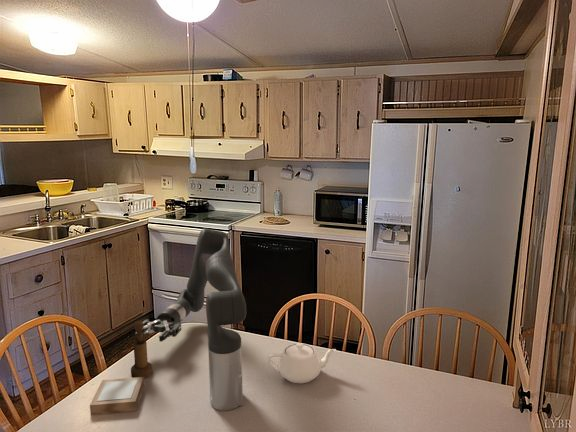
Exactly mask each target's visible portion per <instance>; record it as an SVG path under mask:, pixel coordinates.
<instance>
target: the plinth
mask: <svg viewBox="0 0 576 432" xmlns="http://www.w3.org/2000/svg"><path fill="white" fill-rule="evenodd" d="M144 388H145V378H144V377H136V378H133V377H125V378H115V379H113V378H112V379H103V380H101V382H100V384H99V387H98V388H97V390H96V392H95V393H94V396H93V399H92V400H91V403H90V404H89V410H90V411H89V412H90V416H93V415H94V416H95V415H106V414H117V413H119V414H120V413H128V412H129V413H130V412H137V409H138V407H139V403H140V400H141V398H142V394H143V391H144Z"/></svg>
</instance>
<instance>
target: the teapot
mask: <svg viewBox="0 0 576 432" xmlns="http://www.w3.org/2000/svg"><path fill="white" fill-rule="evenodd" d="M336 351H337V349H336V348H332V349H331V348H330V349H328V350H327V351H326V353H325V355H324V356H323V357H321V358H320V357H319V355H318V353H317V350H316V349H315V348H314V346H311V345H310V344H307V343H302V342H298V343H292V344H291V343H290V344H288V345H287V346H285V348H284V349H283V351H282V352H280V353H278V352H277V353H270V354H269V355H268V356H267V363H268V364H269V366H270V367H271V368H273V369H274V370H277V371H279V374H280V375H281V376H282V377H283V379H285V380H286V381H288V382H290V383H293V384H305V383H306V384H307V383H309V382H312V381H313V380H315V378H317V377H318V376H319V375H320V373H321V370H322V369H324V368H325V367H326V366H327V364H328V363H329V359H330V356H331V355H332V353H334V352H336ZM273 358H279V361H278V364H277V365H278V366H277V365H275V364H274V363H273V362H272V359H273Z"/></svg>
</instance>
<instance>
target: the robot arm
mask: <svg viewBox="0 0 576 432" xmlns="http://www.w3.org/2000/svg"><path fill="white" fill-rule="evenodd" d="M230 245H231V244H230V238H229V234H227V232H224V231H220V230H216V229H211V228H202V229H201V230H200V232H199V234H198V237H197V240H196V244H195V250H194V255H193V261H192V265H191V266H192V267H191V271H190V274H189V278H188V280H187V283H186V288H185V289H183V290H181V291H180V293H179V295H178V296H177V300H176V301H174V302H173V303H172V304H171V305H169V306H168V307H166V308H165V309H164V310H163V311H162V312H160V313H159V314H158V315H157V317H156V319H155V320H153V321H150V320H149V319H148V318H147V319H144V320H143V321H142V322H143V324H144V327H143V329H142V334H143V336H144V335H146V334H153V333H161V334H159V335H158V336H159V337H158V338H159V340H158V341H159V342H163V341H165V340H166V339H168V338H170V337H173V338H176V336H178V334H180V332H181V331H182V322H183V321H184V319H186V318H187V317H188V316H189V314H190V313H191V312H193V313H197V312H199V311H200V310H202V309H203V306H204V304H205V314H206V315H205V316H206V324H207V325H206V326H207V343H208V344H207V345H208V371H209V372H208V375H209V376H208V377H209V379H208V380H209V400H210V405H211V407H212V408H213V409H214V410H217V411H218V410H219V411H231V410H234V409H236V408H237V407H241V406H244V402H243V401H244V399H243V397H244V396H243V393H244V392H243V368H242V366H243V365H242V337H241V335H240V333H239V332H237V331H235V330H232V329H230V328H225V327H223V326H228V325H230V326H231V325H236V324H240V323H242V322H243V321H245V319H246V316H247V303H246V299H245V296H244V293H243V290H242V289H241V286H240V284H239V281H238V277H237V274H236V268H235V263H234V261H233V258H232V254H231V248H230ZM204 254H205V255H210V257H209V258H208V259H207V261H206V263H205V259H204ZM207 283H209V285H210V286H211V287H213V288H214V289H215V290H217V291H212V292H209V293H208V294H207V295H206V297H205V289H206V286H207ZM136 334H137V332H136V331H135V336H136Z"/></svg>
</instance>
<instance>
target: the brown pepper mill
mask: <svg viewBox="0 0 576 432" xmlns="http://www.w3.org/2000/svg"><path fill="white" fill-rule="evenodd" d="M143 327H144V324H143V321H141V320H137V321H135V322H134V323H133V329H134V331H135V333H136V332H137V334H136V335H135V340H133V343H132V344H133V353H134V354H133V355H134V356H133V357H134V364H133V365H132V366H131V367H130V376H131V378H136V377H144V379H147V378H148V377H150V376H152V374H153V373H154V371H153V364H152V363H150V362H149V361H148V349H147V348H148V347H147V345H148V344H147V339H146V338H145V339H144V335H143V334H142V329H143Z"/></svg>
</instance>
